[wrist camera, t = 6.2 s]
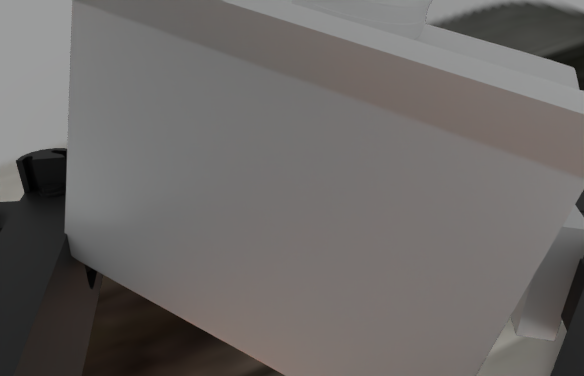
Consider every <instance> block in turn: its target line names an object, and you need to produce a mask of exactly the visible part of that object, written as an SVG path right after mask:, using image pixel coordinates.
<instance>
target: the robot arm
mask: <svg viewBox="0 0 584 376" xmlns="http://www.w3.org/2000/svg"><path fill="white" fill-rule="evenodd" d="M16 163H17V167H18V170H19V174H20V178H21V181H22V185H23V189H24V192H25V193H24V195H23V197H22V198H21V200H20V201H13V202H0V376H82V372H83V367H84V363H85V358H86V353H87V349H88V344H89V339H90V335H91V330H92V325H93V321H94V316H95V311H96V307H97V302H98V297H99V292H100V288H101V283H102V278H103V274H101V273H99V272H98V271H96V270H94V269H92V268H91V267H89V266H87V265H85V264H84V263H82V262H80V261H79V260H77V259H75V258H74V257H72V256H71V252H70V247H69V242H68V236H67V234H66V233H64V232H65V202H66V173H67V149H65V148H53V149H45V150H39V151H35V152H31V153H29V154H26V155H24V156H21V157H20V158H19V159H18V160H16ZM511 319H512V323H513V326H514V330H515V333H516V335H518V336H524V337H531V338H537V339H543V340H550V341H555V338H556V335H557V332H558V329H559V326H560V324H561V321H562V320H563V323H564V325H565V327H566V330H567V334H566V336H565V339H564V342H563V344H562V347H561V350H560V352H559V355H558V357H557V360H556V363H555V365H554V368H553V371H552V373H551V376H584V192H582V193H581V195H580V197H579V198H578V200H577V202H576V204H575V205H574V207H573V209H572V210H571V212H570V214H569V216H568V217H567V219H566V221H565V222H564V224H563V226H562V228H561V229H560V231H559V233H558V235H557V236H556V238H555V240H554V241H553V243H552V245H551V247H550V248H549V250H548V252H547V254H546V255H545V257H544V259H543V260H542V262H541V264H540V266H539V267H538V269H537V271H536V273H535V274H534V276H533V278H532V279H531V281H530V283H529V285H528V286H527V288H526V290H525V292H524V293H523V295H522V297H521V298H520V300H519V302H518V304H517V305H516V307H515V309H514V311H513V312H512V314H511Z"/></svg>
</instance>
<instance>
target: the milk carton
mask: <svg viewBox="0 0 584 376" xmlns="http://www.w3.org/2000/svg"><path fill="white" fill-rule="evenodd" d="M431 2H432V0H72V27H71V56H70V57H71V58H70V87H69V115H68V144H67V173H66V202H65V232H64V233H66V234H67V236H68V242H69V247H70V252H71V256H72V257H74V258H75V259H77V260H79V261H80V262H82V263H84V264H85V265H87V266H89V267H91V268H92V269H94V270H96V271H98V272H99V273H101V274H103V275H105V276H107V277H108V278H110V279H112V280H114V281H116V282H117V283H119V284H121V285H123V286H125V287H126V288H128V289H130V290H132V291H134V292H135V293H137V294H139V295H141V296H143V297H145V298H146V299H148V300H150V301H152V302H154V303H155V304H157V305H159V306H161V307H163V308H164V309H166V310H168V311H170V312H172V313H173V314H175V315H177V316H179V317H181V318H182V319H184V320H186V321H188V322H190V323H191V324H193V325H195V326H197V327H199V328H200V329H202V330H204V331H206V332H208V333H210V334H211V335H213V336H215V337H217V338H219V339H220V340H222V341H224V342H226V343H228V344H229V345H231V346H233V347H235V348H237V349H238V350H240V351H242V352H244V353H246V354H247V355H249V356H251V357H253V358H255V359H256V360H258V361H260V362H262V363H264V364H266V365H267V366H269V367H271V368H273V369H275V370H276V371H278V372H280V373H282V374H284V375H285V376H476V374H477V373H478V371H479V369H480V367H481V366H482V364H483V362H484V361H485V359H486V357H487V355H488V354H489V352H490V350H491V348H492V347H493V345H494V343H495V342H496V340H497V338H498V336H499V335H500V333H501V331H502V329H503V328H504V326H505V324H506V323H507V321H508V319H509V317H510V316H511V314H512V312H513V311H514V309H515V307H516V305H517V304H518V302H519V300H520V298H521V297H522V295H523V293H524V292H525V290H526V288H527V286H528V285H529V283H530V281H531V279H532V278H533V276H534V274H535V273H536V271H537V269H538V267H539V266H540V264H541V262H542V260H543V259H544V257H545V255H546V254H547V252H548V250H549V248H550V247H551V245H552V243H553V241H554V240H555V238H556V236H557V235H558V233H559V231H560V229H561V228H562V226H563V224H564V222H565V221H566V219H567V217H568V216H569V214H570V212H571V210H572V209H573V207H574V205H575V204H576V202H577V200H578V198H579V197H580V195H581V193H582V191H583V190H584V91H582V90H579V86H578V81H577V76H576V72H575V69H574V68H573V67H570V66H567V65H564V64H561V63H558V62H555V61H552V60H549V59H545V58H542V57H539V56H535V55H532V54H529V53H526V52H522V51H519V50H515V49H512V48H508V47H505V46H501V45H498V44H494V43H491V42H487V41H484V40H480V39H477V38H473V37H470V36H466V35H463V34H459V33H456V32H453V31H449V30H446V29H442V28H439V27H435V26H432V25H428V24H425V21H426V14H427V10H428V7H429V5H430V3H431Z"/></svg>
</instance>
